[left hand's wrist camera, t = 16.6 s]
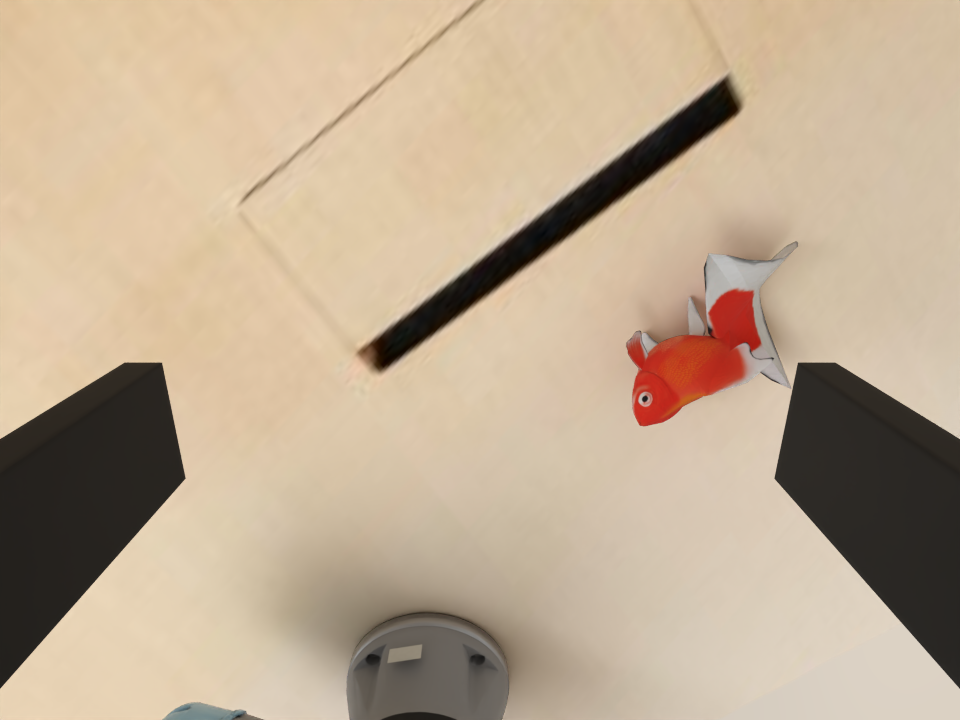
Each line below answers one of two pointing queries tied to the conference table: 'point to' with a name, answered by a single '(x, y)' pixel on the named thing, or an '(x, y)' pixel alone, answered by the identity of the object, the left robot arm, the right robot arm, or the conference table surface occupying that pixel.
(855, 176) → the conference table surface
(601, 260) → the conference table surface
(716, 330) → the fish
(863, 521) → the left robot arm
